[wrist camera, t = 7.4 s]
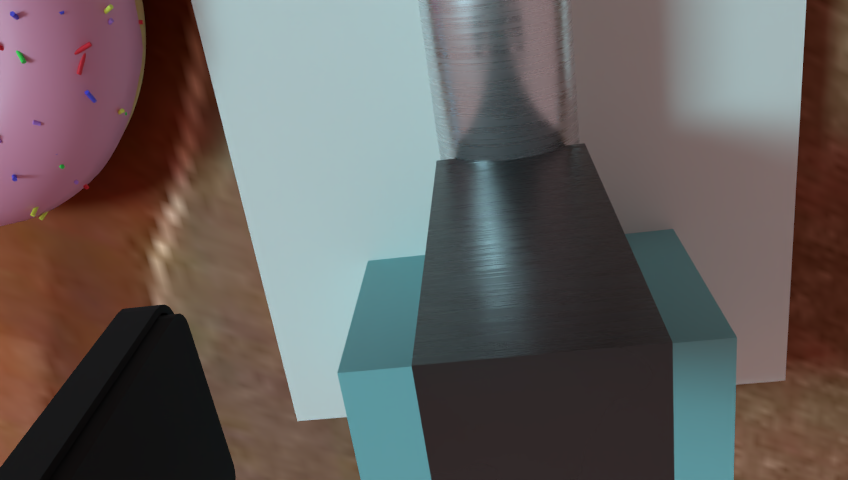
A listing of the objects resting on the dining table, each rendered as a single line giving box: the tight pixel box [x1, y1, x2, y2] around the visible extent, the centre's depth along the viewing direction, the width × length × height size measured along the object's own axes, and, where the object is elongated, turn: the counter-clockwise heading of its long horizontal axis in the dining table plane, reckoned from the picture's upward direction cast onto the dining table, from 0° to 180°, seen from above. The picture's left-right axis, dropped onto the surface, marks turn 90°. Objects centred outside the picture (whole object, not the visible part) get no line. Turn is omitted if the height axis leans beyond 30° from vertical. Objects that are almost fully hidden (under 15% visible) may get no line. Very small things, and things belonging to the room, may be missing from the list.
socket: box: [337, 229, 737, 480], centre depth 19 cm, size 4×8×5 cm, turn 98°
